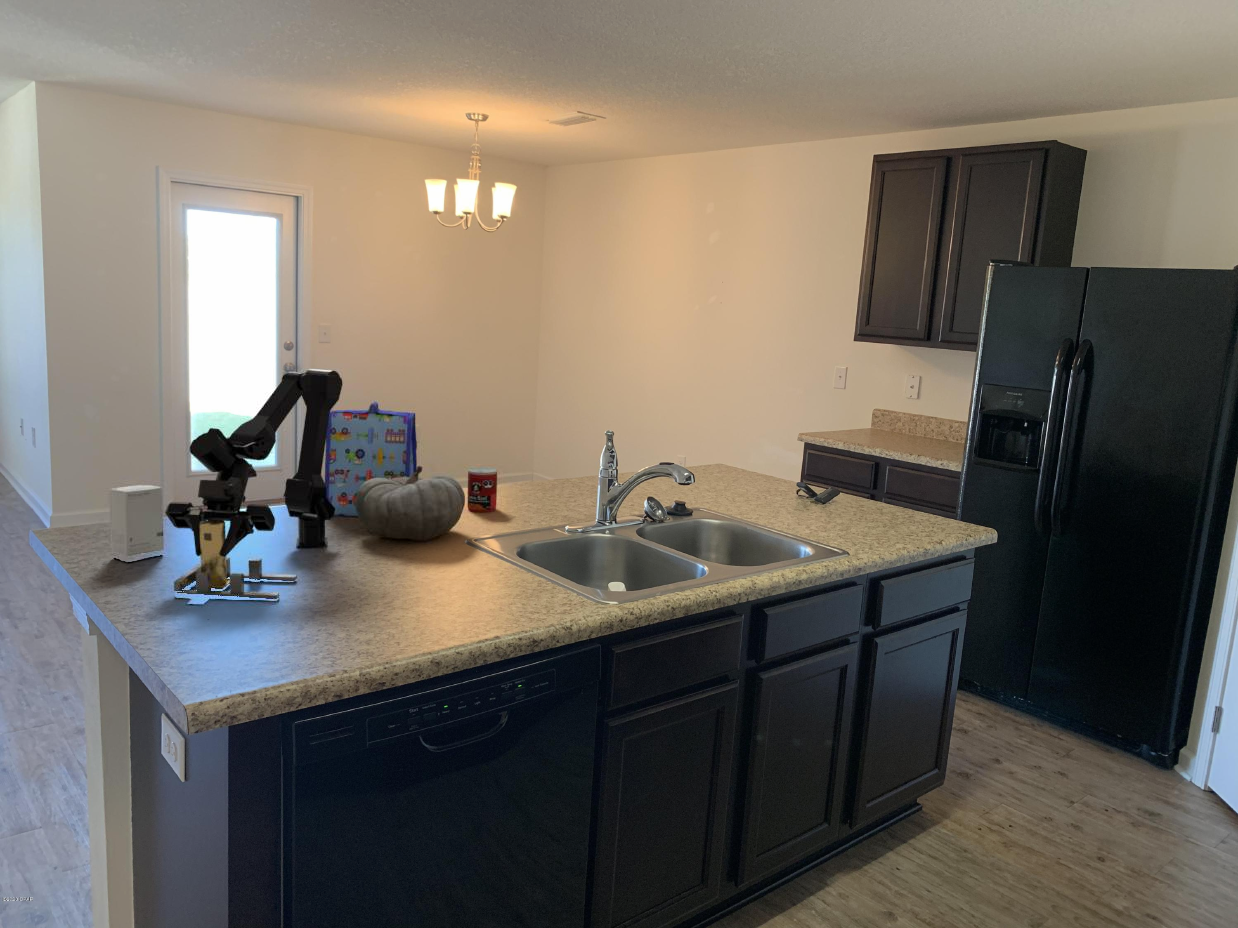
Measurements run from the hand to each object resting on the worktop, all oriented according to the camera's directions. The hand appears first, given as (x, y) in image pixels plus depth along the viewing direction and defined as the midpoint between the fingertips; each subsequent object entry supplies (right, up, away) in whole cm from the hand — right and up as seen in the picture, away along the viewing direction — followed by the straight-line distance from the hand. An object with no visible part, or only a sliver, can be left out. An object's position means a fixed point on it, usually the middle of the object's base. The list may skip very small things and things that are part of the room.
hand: (210, 555), depth 166 cm
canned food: (+39, +4, +77) cm, 86 cm away
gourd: (+26, 0, +47) cm, 54 cm away
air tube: (0, -6, +3) cm, 7 cm away
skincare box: (-24, -3, +20) cm, 31 cm away
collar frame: (+4, -7, +1) cm, 8 cm away
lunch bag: (+11, +4, +68) cm, 69 cm away
